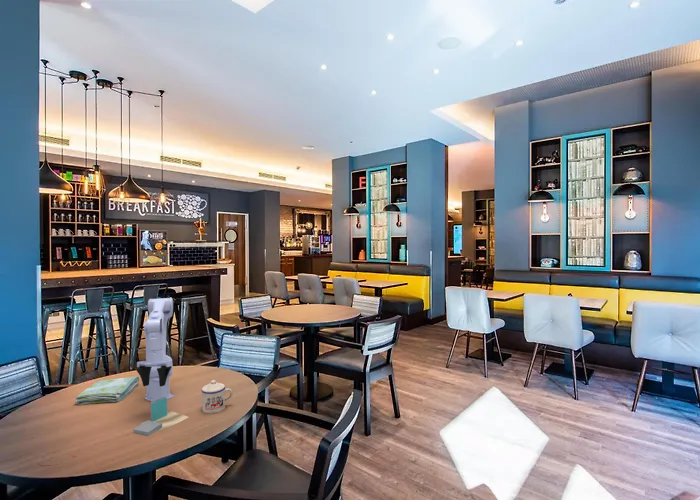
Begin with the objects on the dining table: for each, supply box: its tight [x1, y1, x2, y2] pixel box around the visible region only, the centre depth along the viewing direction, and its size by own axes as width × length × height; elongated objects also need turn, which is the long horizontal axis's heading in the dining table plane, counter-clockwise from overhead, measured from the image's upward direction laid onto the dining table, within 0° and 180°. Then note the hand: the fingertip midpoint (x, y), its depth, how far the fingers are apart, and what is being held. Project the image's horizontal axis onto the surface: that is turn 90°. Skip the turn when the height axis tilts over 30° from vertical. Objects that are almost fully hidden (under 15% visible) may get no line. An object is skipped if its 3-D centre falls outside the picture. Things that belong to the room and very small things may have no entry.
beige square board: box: [140, 410, 190, 432], centre depth 141 cm, size 12×12×1 cm
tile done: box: [132, 420, 162, 437], centre depth 134 cm, size 7×6×1 cm
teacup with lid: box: [200, 379, 234, 414], centre depth 151 cm, size 12×9×12 cm
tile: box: [149, 397, 168, 422], centre depth 143 cm, size 1×6×7 cm, turn 151°
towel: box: [74, 375, 140, 406], centre depth 167 cm, size 18×21×5 cm
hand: (154, 385), depth 144 cm, fingers open, 7 cm apart
